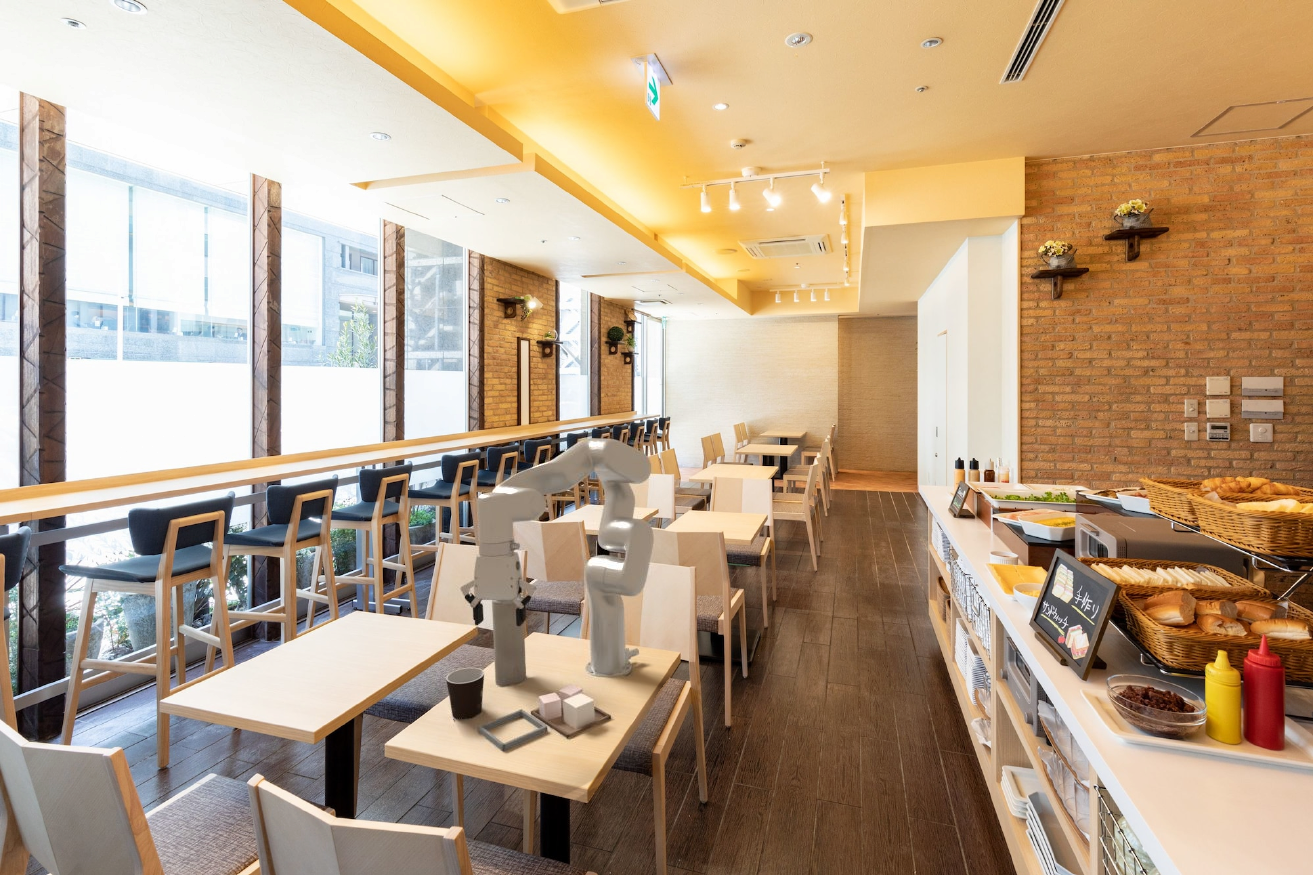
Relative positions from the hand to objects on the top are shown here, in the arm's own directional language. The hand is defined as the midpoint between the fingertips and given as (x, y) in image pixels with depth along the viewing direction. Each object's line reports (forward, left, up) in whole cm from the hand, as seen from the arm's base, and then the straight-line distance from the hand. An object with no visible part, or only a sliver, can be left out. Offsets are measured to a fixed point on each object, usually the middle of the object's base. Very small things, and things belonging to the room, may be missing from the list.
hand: (499, 623), depth 142 cm
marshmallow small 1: (-16, +3, -24) cm, 29 cm away
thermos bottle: (-14, -22, -25) cm, 36 cm away
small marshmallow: (-10, +3, -24) cm, 26 cm away
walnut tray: (-13, +7, -24) cm, 29 cm away
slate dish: (0, +4, -24) cm, 25 cm away
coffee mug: (+2, -13, -25) cm, 28 cm away
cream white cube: (-13, +11, -24) cm, 29 cm away
